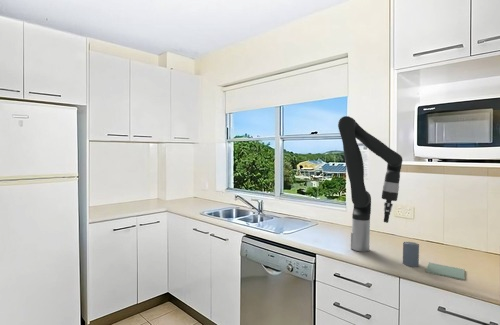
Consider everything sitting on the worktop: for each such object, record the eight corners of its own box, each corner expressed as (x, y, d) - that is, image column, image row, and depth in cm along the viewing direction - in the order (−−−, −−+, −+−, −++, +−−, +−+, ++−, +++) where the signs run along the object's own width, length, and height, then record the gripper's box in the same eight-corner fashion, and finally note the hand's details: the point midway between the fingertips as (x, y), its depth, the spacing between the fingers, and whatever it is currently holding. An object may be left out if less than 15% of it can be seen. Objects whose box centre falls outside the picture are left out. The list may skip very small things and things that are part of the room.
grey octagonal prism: (402, 264, 140) (402, 244, 140) (404, 260, 145) (404, 241, 145) (417, 268, 136) (417, 246, 136) (419, 263, 141) (419, 243, 141)
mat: (426, 272, 131) (426, 270, 131) (428, 263, 142) (428, 262, 142) (464, 280, 123) (464, 279, 123) (464, 270, 134) (464, 269, 133)
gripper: (382, 189, 162) (378, 217, 162) (382, 190, 149) (377, 221, 149) (397, 191, 159) (393, 220, 159) (398, 192, 146) (393, 224, 146)
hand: (385, 221), depth 154 cm, fingers open, 8 cm apart
